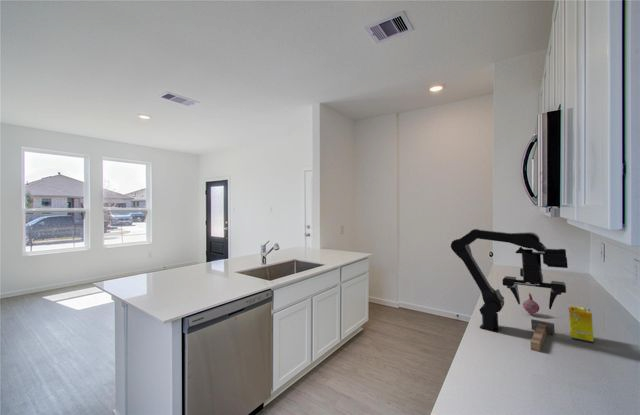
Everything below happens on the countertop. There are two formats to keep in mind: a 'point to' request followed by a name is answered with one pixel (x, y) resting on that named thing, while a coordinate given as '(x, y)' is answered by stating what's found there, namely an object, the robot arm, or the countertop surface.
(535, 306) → the vegetable
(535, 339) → the bar
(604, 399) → the countertop surface
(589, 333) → the supplement box
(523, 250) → the robot arm
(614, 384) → the countertop surface
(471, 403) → the countertop surface
